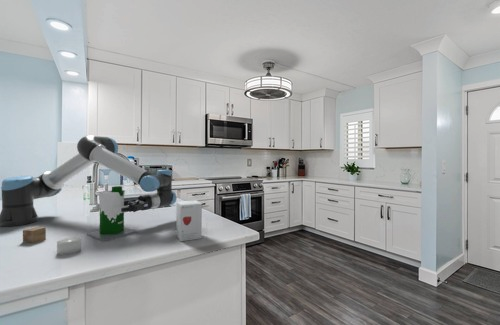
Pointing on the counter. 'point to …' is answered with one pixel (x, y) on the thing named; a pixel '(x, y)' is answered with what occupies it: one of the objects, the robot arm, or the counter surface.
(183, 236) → the supplement box
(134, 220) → the counter surface
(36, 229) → the walnut block
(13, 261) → the counter surface
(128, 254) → the counter surface
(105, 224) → the soya milk
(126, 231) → the slate board
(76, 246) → the white cylinder puck
